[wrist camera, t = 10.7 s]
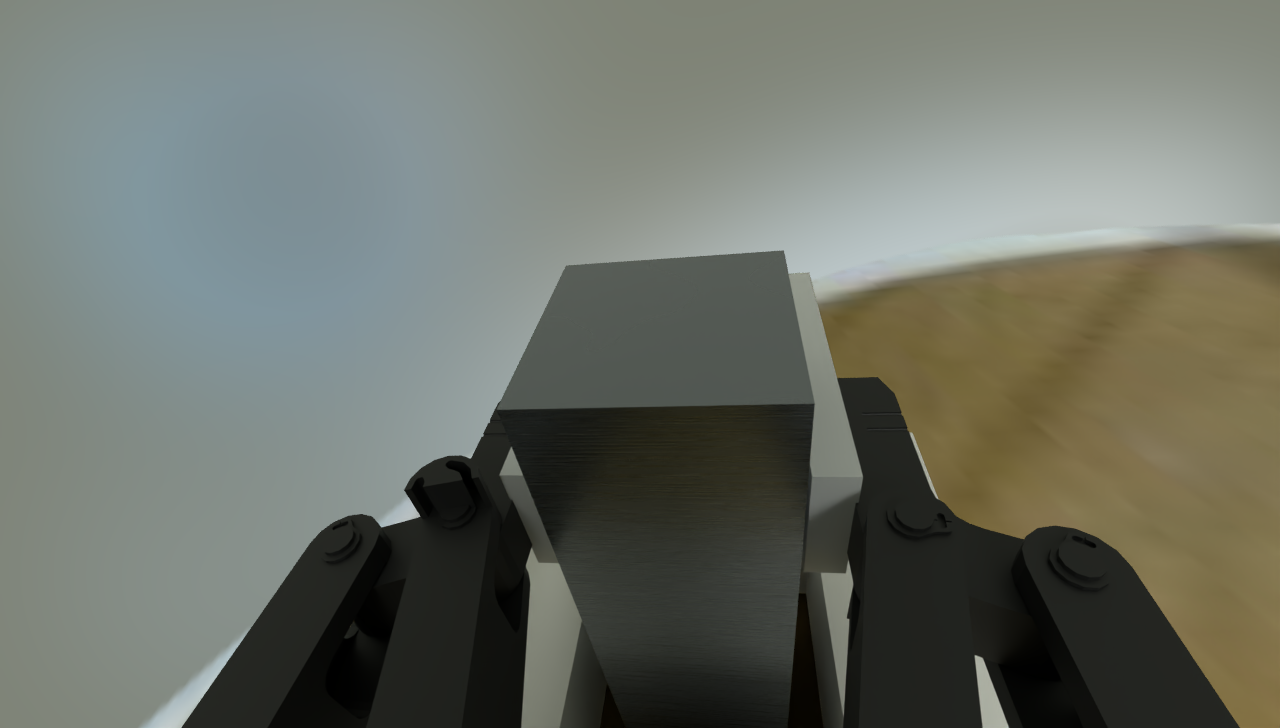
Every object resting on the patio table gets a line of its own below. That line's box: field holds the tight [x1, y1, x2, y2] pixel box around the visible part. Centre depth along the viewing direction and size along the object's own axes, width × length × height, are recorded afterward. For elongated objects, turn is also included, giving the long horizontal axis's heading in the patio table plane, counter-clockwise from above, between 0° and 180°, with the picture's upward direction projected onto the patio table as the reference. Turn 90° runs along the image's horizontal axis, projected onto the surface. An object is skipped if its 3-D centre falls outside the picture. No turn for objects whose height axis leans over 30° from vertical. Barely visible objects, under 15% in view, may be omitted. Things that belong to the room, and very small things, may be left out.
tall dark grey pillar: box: [497, 251, 815, 728], centre depth 12 cm, size 4×4×13 cm
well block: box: [521, 433, 1009, 728], centre depth 15 cm, size 14×14×4 cm
